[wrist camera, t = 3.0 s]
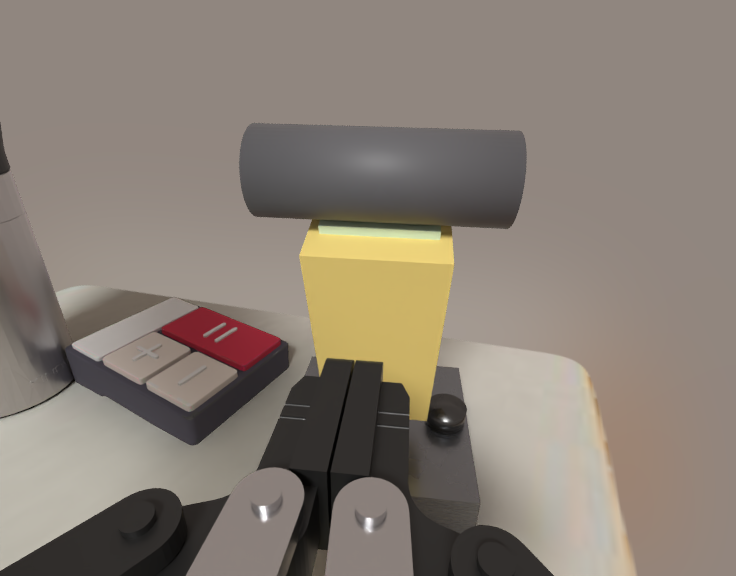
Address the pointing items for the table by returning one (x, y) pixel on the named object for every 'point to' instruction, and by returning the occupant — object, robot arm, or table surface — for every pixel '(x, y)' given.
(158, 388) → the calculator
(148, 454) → the table surface
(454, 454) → the base
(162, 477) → the table surface
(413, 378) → the yellow toy mallet
